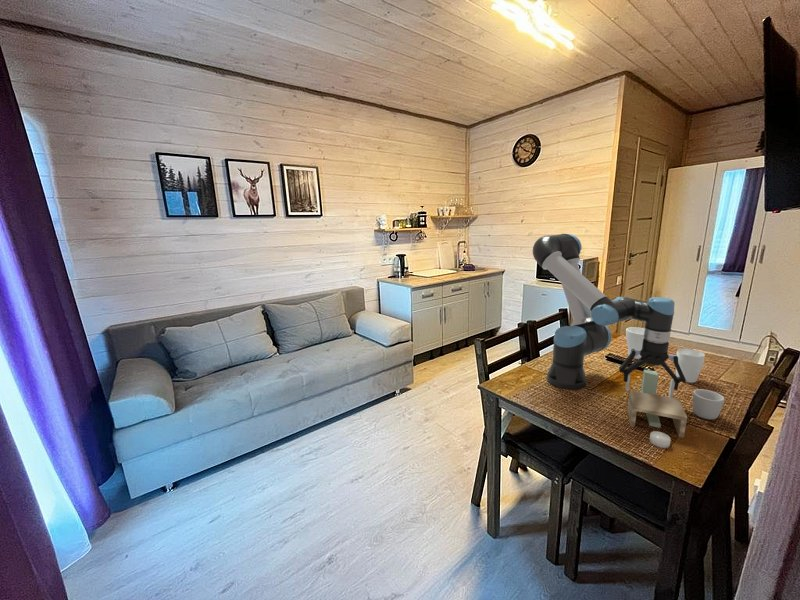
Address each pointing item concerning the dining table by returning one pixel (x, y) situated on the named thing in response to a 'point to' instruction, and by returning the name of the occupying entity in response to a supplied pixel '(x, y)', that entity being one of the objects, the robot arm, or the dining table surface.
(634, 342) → the cup
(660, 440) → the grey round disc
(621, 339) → the dining table surface
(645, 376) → the sage green mallet
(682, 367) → the cup
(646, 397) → the beige arch
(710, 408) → the cup
